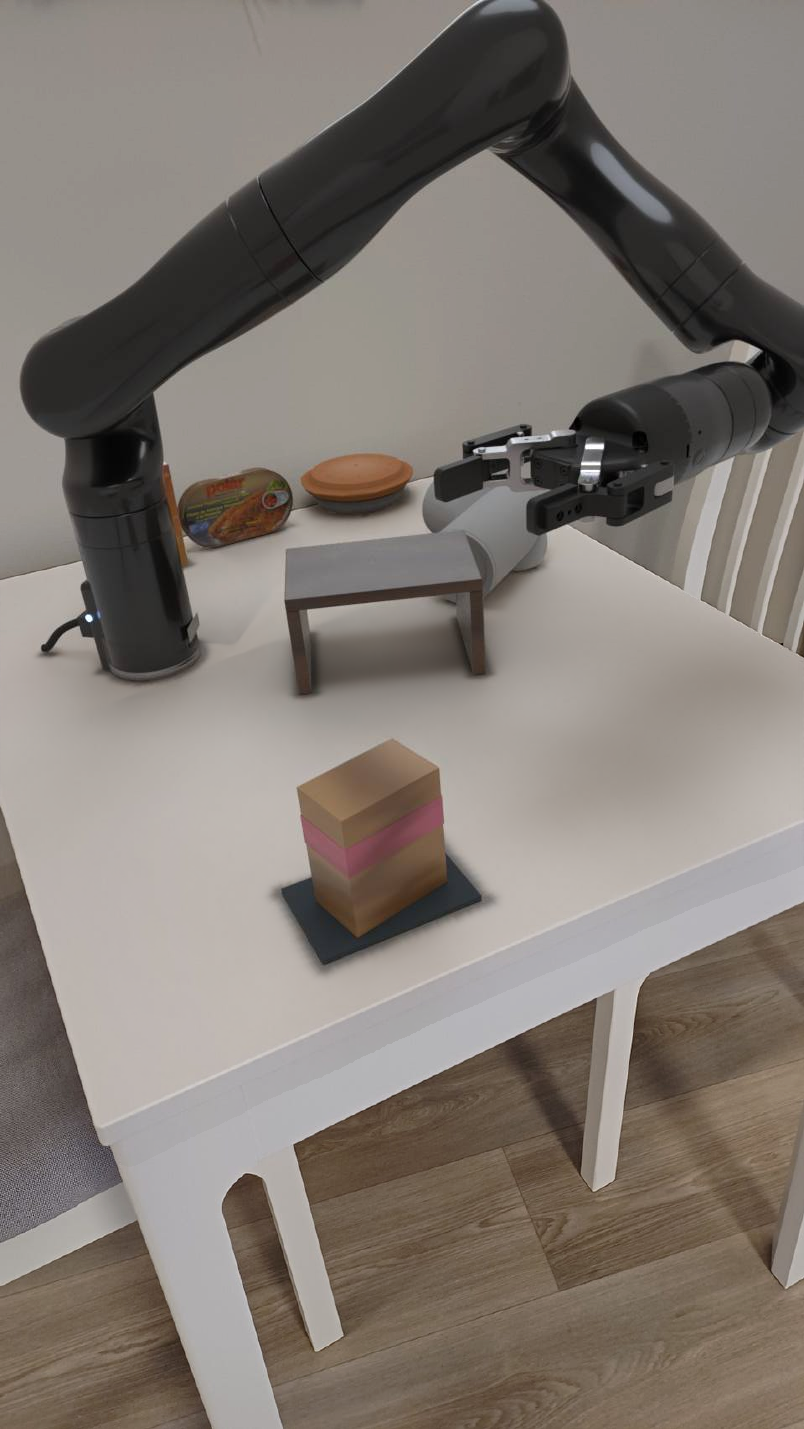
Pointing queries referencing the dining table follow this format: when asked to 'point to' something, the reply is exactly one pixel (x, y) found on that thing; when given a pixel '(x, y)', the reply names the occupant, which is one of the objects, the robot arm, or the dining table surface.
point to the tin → (235, 507)
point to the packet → (374, 835)
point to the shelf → (383, 585)
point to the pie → (357, 482)
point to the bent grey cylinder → (489, 530)
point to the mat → (339, 941)
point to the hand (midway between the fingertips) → (481, 502)
